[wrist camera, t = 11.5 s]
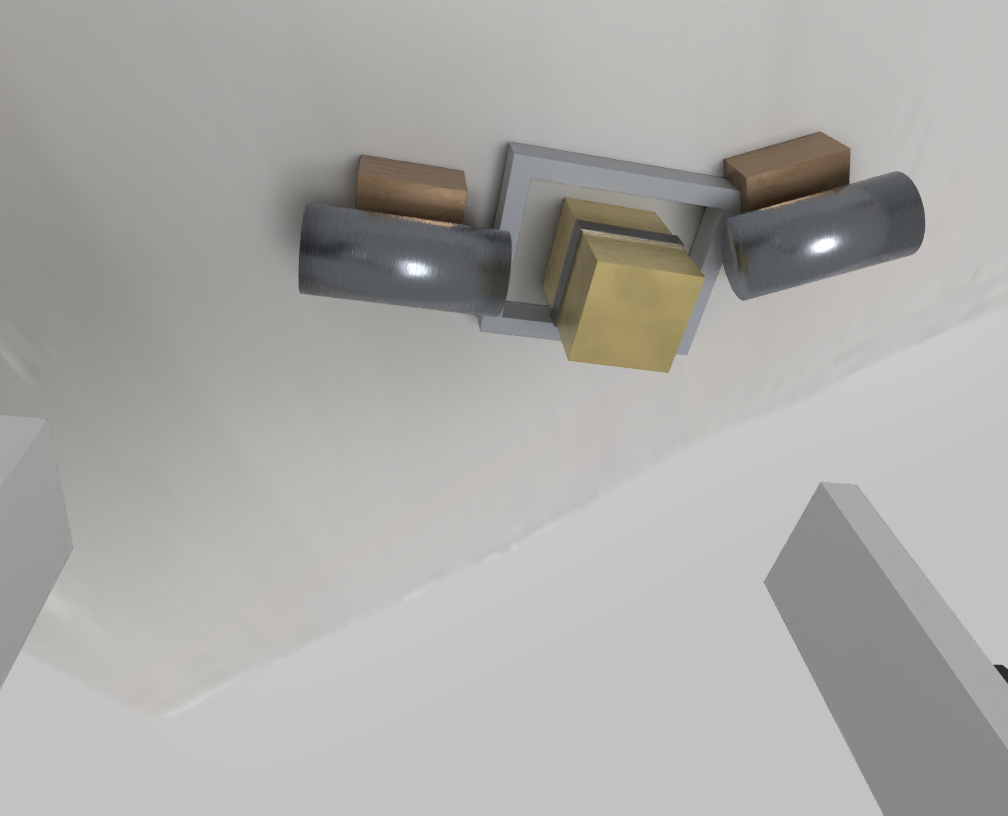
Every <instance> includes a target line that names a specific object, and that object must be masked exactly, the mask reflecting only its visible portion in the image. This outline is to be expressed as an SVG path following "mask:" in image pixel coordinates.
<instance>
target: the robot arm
mask: <svg viewBox="0 0 1008 816" xmlns="http://www.w3.org/2000/svg"><path fill="white" fill-rule="evenodd" d="M72 549H73V543H72V538H71V533H70V528H69V523H68V518H67V513H66V508H65V503H64V498H63V493H62V488H61V483H60V478H59V473H58V469H57V464H56V459H55V454H54V449H53V444H52V439H51V434H50V429H49V424H48V419H46V418H34V417H21V416H9V415H0V689H1V687H2V685H3V683H4V681H5V679H6V677H7V675H8V673H9V671H10V669H11V667H12V666H13V664H14V661H15V660H16V658H17V656H18V654H19V652H20V650H21V648H22V646H23V644H24V642H25V640H26V638H27V636H28V634H29V632H30V631H31V629H32V627H33V625H34V623H35V621H36V619H37V617H38V615H39V613H40V611H41V609H42V607H43V605H44V603H45V601H46V599H47V597H48V596H49V594H50V592H51V590H52V588H53V586H54V584H55V582H56V580H57V578H58V576H59V574H60V572H61V570H62V568H63V566H64V564H65V562H66V561H67V559H68V557H69V555H70V553H71V551H72ZM764 584H765V586H766V587H767V589H768V591H769V593H770V595H771V597H772V599H773V601H774V603H775V605H776V607H777V609H778V611H779V613H780V615H781V617H782V619H783V621H784V623H785V624H786V626H787V628H788V630H789V632H790V634H791V636H792V638H793V640H794V642H795V644H796V646H797V648H798V650H799V652H800V654H801V656H802V657H803V659H804V661H805V663H806V665H807V667H808V669H809V671H810V673H811V675H812V677H813V679H814V681H815V683H816V685H817V687H818V688H819V691H820V692H821V694H822V696H823V698H824V700H825V702H826V704H827V706H828V708H829V710H830V712H831V714H832V716H833V718H834V720H835V722H836V724H837V726H838V727H839V729H840V731H841V733H842V735H843V737H844V739H845V741H846V743H847V745H848V747H849V748H850V751H851V753H852V755H853V757H854V759H855V761H856V762H857V764H858V766H859V768H860V770H861V772H862V774H863V776H864V778H865V780H866V782H867V784H868V785H869V788H870V790H871V792H872V794H873V795H874V797H875V799H876V801H877V803H878V805H879V807H880V809H881V811H882V813H883V815H884V816H1008V669H1007V668H1005V667H1004V666H1003V665H993V664H992V663H991V661H990V660H989V659H988V657H987V656H986V655H985V654H984V652H983V651H982V650H981V648H980V647H979V646H978V644H977V643H976V642H975V640H974V639H973V638H972V636H971V635H970V634H969V632H968V631H967V630H966V628H965V627H964V626H963V624H962V623H961V622H960V620H959V619H958V618H957V617H956V615H955V614H954V612H953V611H952V610H951V609H950V607H949V606H948V605H947V603H946V602H945V601H944V599H943V598H942V597H941V595H940V594H939V593H938V591H937V590H936V589H935V587H934V586H933V585H932V583H931V582H930V581H929V579H928V578H927V577H926V575H925V574H924V573H923V572H922V570H921V569H920V568H919V566H918V565H917V564H916V562H915V561H914V560H913V558H912V557H911V556H910V554H909V553H908V552H907V550H906V549H905V548H904V546H903V545H902V544H901V543H900V541H899V540H898V538H897V537H896V536H895V535H894V534H893V532H892V531H891V529H890V528H889V527H888V526H887V524H886V523H885V522H884V520H883V519H882V517H880V515H879V513H878V512H877V511H876V509H875V508H874V507H873V505H872V504H871V503H870V502H869V500H868V499H867V498H866V496H865V495H864V494H863V492H862V491H861V490H860V488H859V487H858V486H857V485H852V484H839V483H827V482H820V484H819V486H818V488H817V489H816V491H815V493H814V495H813V496H812V498H811V500H810V502H809V504H808V505H807V507H806V509H805V510H804V512H803V514H802V516H801V517H800V520H799V521H798V523H797V525H796V526H795V528H794V530H793V532H792V533H791V535H790V537H789V539H788V540H787V542H786V544H785V546H784V547H783V549H782V551H781V553H780V555H779V556H778V558H777V560H776V562H775V563H774V565H773V567H772V569H771V570H770V572H769V574H768V576H767V578H766V579H765V581H764Z"/></svg>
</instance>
